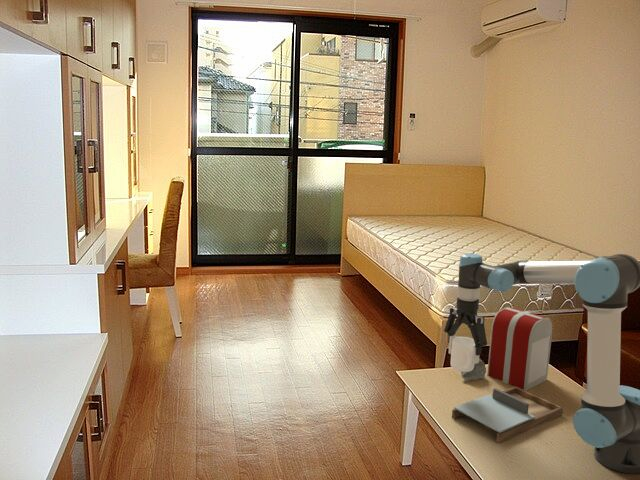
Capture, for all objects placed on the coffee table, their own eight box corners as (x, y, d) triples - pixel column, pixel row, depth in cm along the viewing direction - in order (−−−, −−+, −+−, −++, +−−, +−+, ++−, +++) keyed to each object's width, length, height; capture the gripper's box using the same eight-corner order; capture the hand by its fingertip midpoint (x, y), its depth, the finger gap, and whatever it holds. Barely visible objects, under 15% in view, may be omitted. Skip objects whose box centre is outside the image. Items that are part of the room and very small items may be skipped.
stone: (479, 358, 243) (473, 347, 252) (458, 372, 244) (452, 362, 254) (493, 375, 244) (486, 364, 254) (472, 390, 246) (466, 379, 255)
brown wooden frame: (561, 415, 220) (562, 407, 219) (498, 443, 200) (499, 434, 200) (514, 393, 236) (515, 386, 235) (451, 417, 216) (452, 409, 216)
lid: (534, 418, 211) (536, 406, 210) (499, 432, 200) (501, 420, 199) (488, 395, 226) (489, 384, 225) (454, 408, 216) (455, 397, 215)
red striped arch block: (525, 390, 239) (532, 323, 233) (485, 375, 251) (491, 311, 246) (548, 379, 249) (555, 314, 244) (508, 365, 262) (515, 303, 256)
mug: (480, 377, 218) (482, 349, 216) (456, 377, 217) (458, 349, 215) (470, 363, 229) (472, 336, 227) (447, 363, 229) (449, 336, 227)
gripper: (501, 305, 211) (496, 366, 216) (451, 288, 230) (446, 345, 234) (487, 308, 207) (481, 371, 212) (436, 291, 225) (432, 349, 230)
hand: (463, 357), depth 223 cm, fingers closed on mug, 10 cm apart
